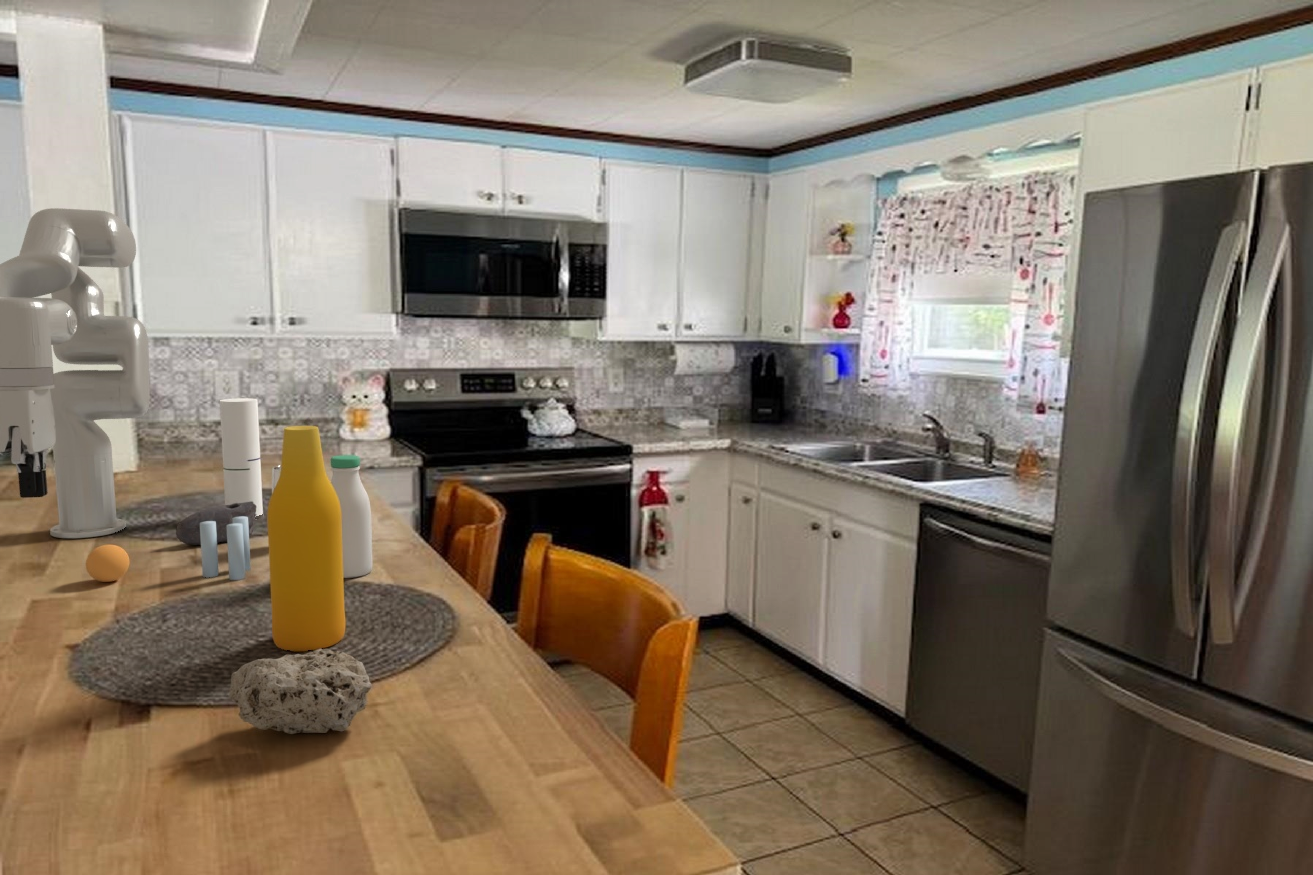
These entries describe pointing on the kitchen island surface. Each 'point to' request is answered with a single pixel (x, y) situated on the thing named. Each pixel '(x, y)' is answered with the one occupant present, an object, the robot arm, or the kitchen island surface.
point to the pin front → (209, 549)
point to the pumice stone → (301, 692)
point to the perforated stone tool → (221, 515)
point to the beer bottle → (305, 548)
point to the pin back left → (235, 551)
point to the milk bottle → (353, 516)
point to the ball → (107, 563)
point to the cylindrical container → (241, 452)
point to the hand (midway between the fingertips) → (34, 496)
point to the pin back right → (245, 539)
